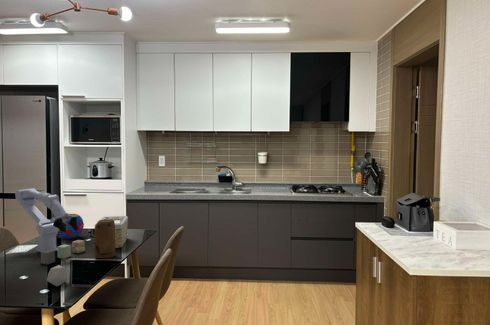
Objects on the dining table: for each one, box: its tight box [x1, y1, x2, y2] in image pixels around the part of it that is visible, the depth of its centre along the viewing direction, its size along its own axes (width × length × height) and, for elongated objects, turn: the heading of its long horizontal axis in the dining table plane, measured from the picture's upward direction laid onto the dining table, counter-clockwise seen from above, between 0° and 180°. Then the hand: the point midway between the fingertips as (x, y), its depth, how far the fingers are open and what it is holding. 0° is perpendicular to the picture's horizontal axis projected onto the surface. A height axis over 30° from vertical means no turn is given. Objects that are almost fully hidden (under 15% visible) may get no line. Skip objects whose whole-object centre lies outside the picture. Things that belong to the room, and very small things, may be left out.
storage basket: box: [94, 215, 129, 249], centre depth 223 cm, size 24×16×15 cm
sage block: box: [56, 244, 72, 259], centre depth 198 cm, size 4×4×6 cm
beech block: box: [71, 239, 86, 254], centre depth 207 cm, size 4×4×6 cm
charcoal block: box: [40, 250, 56, 265], centre depth 188 cm, size 4×4×6 cm
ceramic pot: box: [56, 213, 85, 240], centre depth 235 cm, size 18×18×15 cm
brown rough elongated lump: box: [93, 219, 116, 259], centre depth 197 cm, size 11×8×20 cm
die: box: [46, 264, 70, 287], centre depth 160 cm, size 8×9×10 cm
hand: (71, 230), depth 198 cm, fingers open, 7 cm apart
